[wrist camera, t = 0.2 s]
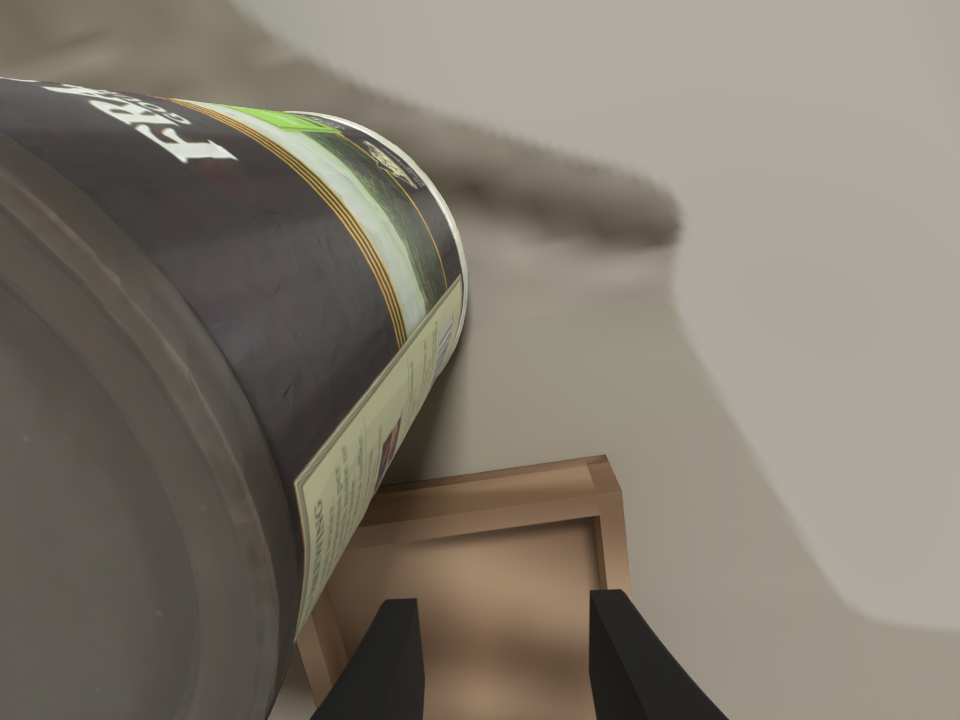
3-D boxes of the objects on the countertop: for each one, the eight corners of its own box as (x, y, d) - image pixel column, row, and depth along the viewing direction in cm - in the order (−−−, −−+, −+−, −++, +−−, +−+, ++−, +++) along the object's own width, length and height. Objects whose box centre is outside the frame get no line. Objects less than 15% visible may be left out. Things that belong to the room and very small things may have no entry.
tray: (638, 773, 27) (654, 834, 25) (375, 804, 28) (365, 867, 25) (605, 454, 22) (621, 490, 20) (288, 499, 23) (265, 540, 20)
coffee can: (131, 120, 19) (-911, 53, 5) (460, 102, 17) (148, -49, 4) (196, 424, 22) (-348, 839, 9) (476, 427, 21) (333, 922, 7)
